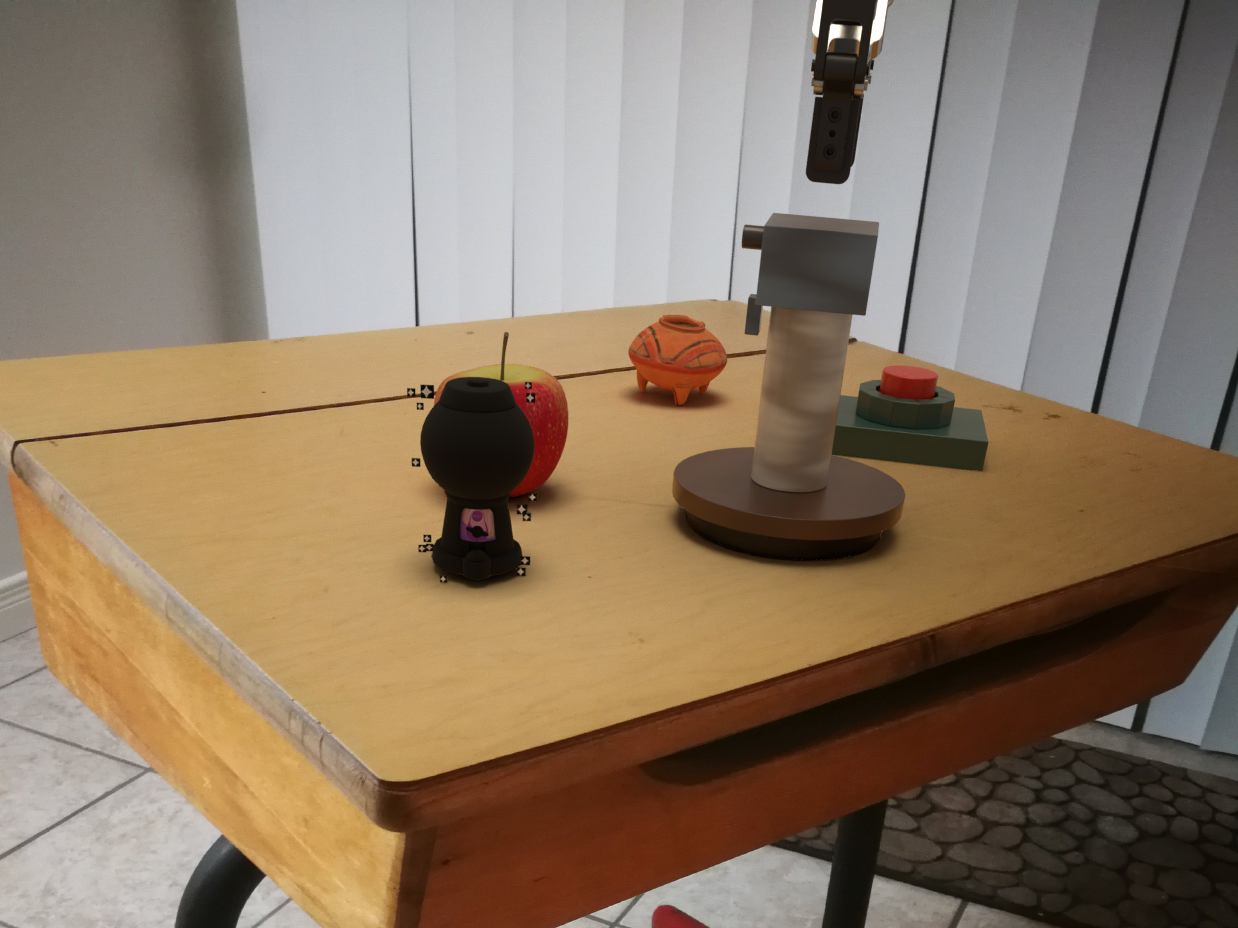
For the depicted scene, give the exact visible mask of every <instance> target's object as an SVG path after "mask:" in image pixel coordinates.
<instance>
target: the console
mask: <svg viewBox="0 0 1238 928" xmlns="http://www.w3.org/2000/svg"><path fill="white" fill-rule="evenodd" d="M880 383H881V379H871V380H867V381H864V382H861V383H859V387H858V392H857V393H858V394H857V396H852V395H843V394H841V395H840V402H839V408H838V415H837V422H836V428H835V435H834V441H833V448H832V455H834V456H838V457H847V458H848V457H849V458H856V459H857V458H858V459H865V460H866V459H867V460H875V461H884V462H894V463H902V464H910V465H911V464H912V465H919V466H920V465H921V466H931V467H938V468H947V469H956V470H964V469H966V470H965V471H973V470H978V471H977V472H983V469H984V465H985V461H986V456H987V451H988V447H989V438H988V433H987V429H986V424H985V420H984V416H983V411H982V409H976V408H967V407H957V406H955V403H956V397H955V393H954V392H952V391H950V390H948V389H946V388H944V387H942V386H939V385H936V390H935V396H934V398H933V399H918V400H914V399H905V398H897V397H893V396H889V395H885V394H882V393H880V392H879V389H880Z"/></svg>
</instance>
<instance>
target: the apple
mask: <svg viewBox="0 0 1238 928" xmlns="http://www.w3.org/2000/svg"><path fill="white" fill-rule="evenodd" d="M509 336H510V334H509V331H505V332H503V339H502V350H501V363H498V364H491V365H484V366H480V367H475V368H470V369H467V370H463V371H459V372H456V373H454V374H450V375H449V376H447V377H446V378H445V379H443V380H442V381H441V382H440V384H439V386H438V388H437V390H436V393H435V395H434V402H433V406H434V405H435V404H436V403H437V402H438V401H439V398H440V396H441V393H442V391H443V389H444V386H445V384H446V383H447V382H448V381H449V380H452V379H456V378H461V377H485V378H492V379H497V380H501V381H504V382H505V383H507V384H508V385H509V386H510V388H511V391H512V393H513V396H514V398H515V401H516V403H517V405H518V406H519V407H520V408H521V409H522V411H523V412H524V414H525V416H526V417H527V419H528V421H529V423H530V425H531V428H532V431H533V435H534V445H535V448H534V456H533V460H532V464H531V466H530V468H529V470H528V472H527V474H526V476H525V478H524V479H523V481H522V482H521V483H520V484H519V485H518V486H517V487H516V488H515V489H514V490H513V491H511V492H510V496H509V498H514V497H519V496H523V495H526V494H529V493H532V492H534V491H535V490H538V489H539V488H540V487H542V486H543V485H544V484H545V483H546V482H547V481H548V480H549V479H550V477H551V476H552V474H553V473H554V472H555V470H556V469H557V466H558V464H559V462H560V460H561V458H562V454H563V452H564V449H565V446H566V442H567V438H568V431H569V406H568V400H567V396H566V393H565V390H564V387H563V386H562V384H561V382H560V381H559V380H558V379H557V377H555V376H554V375H552V374H551V373H550V372H548V371H547V370H544V369H541V368H539V367H535V366H531V365H527V364H519V363H506V352H507V346H508V342H509V341H508V340H509ZM525 382H532V389H525ZM526 393H536V396H535V403H531V402H526Z"/></svg>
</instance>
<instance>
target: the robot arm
mask: <svg viewBox="0 0 1238 928" xmlns="http://www.w3.org/2000/svg"><path fill="white" fill-rule="evenodd" d="M894 2H895V0H816V2H815V9H814V14H813V21H812V28H811V43H810V49H811V51H812V53H813V54H814V55H815V58H812V60H811V68H810V72H813V74H812V76H811V83H810V87H813V89H812V90H813V91H812V95H813V96H814V103H813V110H812V119H811V126H810V134H809V141H808V142H809V143H808V149H807V150H808V151H807V158H806V165H805V176H806V179H808V180H809V181H810V182H812V183H819V184H821V183H822V184H831V185H842V184H844V183H846V182H847V181H848V180H849V178H850V175H851V171H852V170H851V169H852V167H853V166H854V163H855V160H856V153H857V147H858V141H859V133H860V126H861V119H862V113H863V106H864V99H865V92H867V91H868V87H869V86H868V85H871V84H872V76H873V73H871V71H874V67H875V66H874V65H875V59H876V58H877V57H878V56H879V55H880V54H881V53H882V50H883V44H884V39H885V38H884V37H885V32H886V25H887V18H888V10H889V7H891V6H892V5H893V3H894Z"/></svg>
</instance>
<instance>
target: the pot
mask: <svg viewBox="0 0 1238 928" xmlns="http://www.w3.org/2000/svg"><path fill="white" fill-rule="evenodd" d="M627 353H628V357H629V359H630V362H631V363H632V365H633V366H634V368H635V369H636V383H637V386H638V389H639V390H640V392H641V393H644V392H646V389H647V385H648V384H649V383H651V384H652V385H653V386H656V387H658V388H660V389H662V390H666V391H670V392H672V393H673V399H674V403H675V406H682V405H684V404H685V403H686V402H687V399H688V398H689V394H690V392H691V391H693V390H696V389H698V394H700V395H704V394H705V393H706V392H707V390H708V388H709V386H710V383H711V381H713V380H715V378H717V377H718V376H719V375H720V374H721V373H723V371H724V370H725V368H726V366H727V364H728V354H727V351H726V349H725V347H724V345H723V344H722V342H721V341H720V339H719V338H718V337H716V336H715V334H713V332H711V331H710V330H708V329H707V328H706V324H705V322H704V321H703V320H701V321H699V320H696V319H694V318H691V317H689V316H688V315H683V314H664V315H662V316H661V317H659V318H658V321H657V322H653V323H652V324H650V325H649V326H647V327H645V328H644V329H642V330H641V331H640V332H639V333H638V334H637V335H636V336H635V338H634V339H633V340H632V342H631V344H630V345H629V347H628V350H627Z"/></svg>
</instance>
